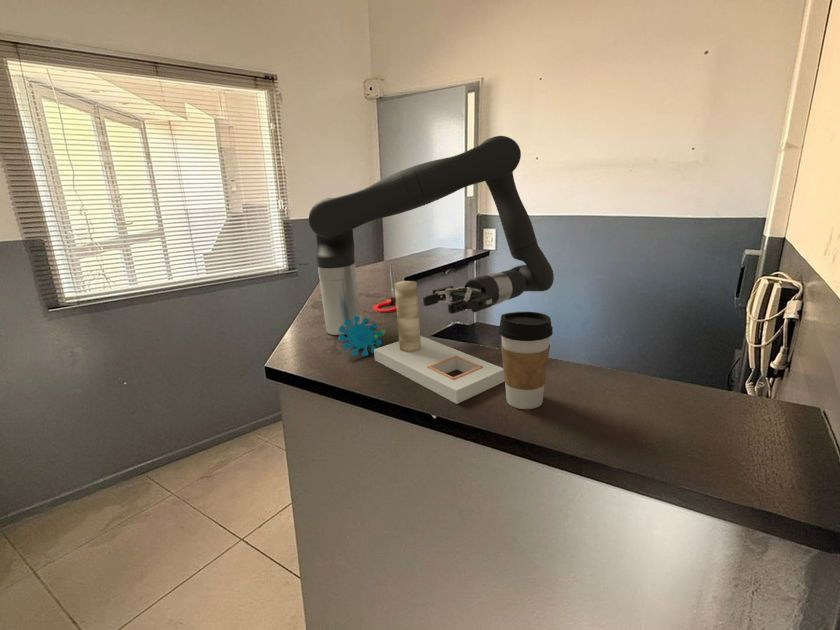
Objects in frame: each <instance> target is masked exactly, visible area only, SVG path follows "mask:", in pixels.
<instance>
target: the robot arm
mask: <svg viewBox="0 0 840 630" xmlns="http://www.w3.org/2000/svg"><path fill="white" fill-rule="evenodd" d="M521 159H522V153H521V148H520V145H519V144H518V143H517V142H516V141H515V140H514V139H512V138H511V137H509V136H506V135H496V136H493V137H489V138H487V139H486V140H484V141H483V142H481V143H480V144H479V145H477V146H475V147H473V148H471V149H469V150H466V151H464V152H461V153H459V154H456V155H454V156H449V157H444V158H440V159H435V160H430V161H426V162H424V163H420V164H416V165H414V166H411V167H407V168H405V169H403V170H400V171H397V172H395V173H393V174H392V173H391V174H390V175H388V176H386V177H384V178H381V179H380V180H378V181H376V182H374V183H373V184H371V185H369V186H366V187H365V188H363V189H359V190H358V191H355V192H352V193H347V194H344V195H340V196H336V197H327V198H324V199H323V198H322V199H321V200H319V201H317V202H316V203H314V205H313V206H312V207H311V209H310V211H309V215H308V224H309V227H310V229H311V231H313V234H315V236H316V248H317V249H316V263H317V264H316V265H317V271H318V277H319V286H320V293H321V301H322V306H323V307H322V309H323V316H324V324H325V330H326V331H325V332H326V333H327V334H329V335H332V336H339V335H340V334H342V335H344V336H345V335H346V334H345V333H343V332H340V331H339V328H340V327H341V326H342V325H343V326H344V327H345V330H346V331H349V329H348V327H347V326H346V325H345V324H344V321H345V320H346V319H350V321H351V322H350V325H351V326H354V321H353V318H354V316H357V317H359V321H358V322H357V324H361V323H362V315H361V305H360V296H359V287H358V277H357V271H356V270H357V269H356V259H355V258H356V257H355V240H354V229H356V228H358V227H360V226H362V225H365V224H367V223H370V222H372V221H376V220H379V219H383V218H384V219H385V218H387V217H393V216H395V215H399V214H402V213H407V212H409V211H412V210H416V209H418V208H420V207H424V206H426V205H429V204H431V203H434V202H436V201H439V200H440V199H443V198H445V197H447V196H450V195H451V194H454V193H456V192H457V191H459V190H462V189H464V188H467V187H470V186H473V185H477V184H480V183H486V185H487V187H488V190H489V192H490V194H491V197H492V199H493V202H494V204H495V207H496V211H497V213H498V217H499V219H500V220H499V221H500V223H501V226H502V229H503V233H504V236H505V239H506V242H507V246H508V249H509V252H510V255H511V257H512V258H513V259H514V260H516V261H517V260H518V261H522V262H523V263H524V264H522V265H521V264H520V265H518V266H515V267H512V268H510V269H509V270H505V271H500V272H493V273H489V274H488V273H487V274H484V275H480V276H477V277H476V276H475V277H472V278H469V279H468V280H467V281H466V283H465V285H464V286H458V287H455V288H454V286H453V285H449V286H444V287H440V288H434V289H432V293H431V294H427V295H424V296H423V297H422V298H423V299H422V301H423V306H425V307H428V306H432V305H433V306H434V305H436V304H441V303H443V304H444V303H445V304H446V305H447V307H448V308H447V309H448V311H447V312H448V313H449V314H452V315H453V314H456V313H459V312H463V311H464V312H468V311H471V313H478V312H480V311H483V310H486V309H488V308H491V307H492V306H495V305H498V304H502V303H504V302H506V301H508V300H511V299H512V300H513V299H515V298H517V297H519V296H521V295H522V294H523V293H524V292H545V291H548V290H550V289H551V288H552V286H553V284H554V280H555V279H554V278H555V274H554V271H553V268H552V266H551V263H550V262H549V260H548V259H547V258H546V256H545V254H544V252H543V251H542V249H541V247H539V244H538V240H537V237H536V233H535V230H534V226H533V223H532V221H531V218H530V216H529V214H528V212H527V209H526V208H525V206H524V203H523V201H522V199H521V197H520V195H519V194H520V193H519V192H518V189H517V186H516V183H515V178H514V173H513V172H514V171H515V170H516V168H517V167H519V166H518V165H520V164H519V163H520V161H521ZM450 299H451V300H450ZM346 336H347V335H346Z"/></svg>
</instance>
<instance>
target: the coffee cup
mask: <svg viewBox="0 0 840 630" xmlns="http://www.w3.org/2000/svg"><path fill="white" fill-rule="evenodd" d="M553 332H554V331H553V326H552V319H551V317H550V316H549V315H547V314H545V313H541V312H536V311H513V312H506V313H503V314H501V316H500V323H499V327H498V334H499V336H501V343H500V349H501V357H502V368H503V369H504V379H505V382H504V384H505V385H504V386H505V396H506V398H505V399H506V402H507V404H509V405H510V406H511V407H513V408H516V409H520V410H532V409H536V408H539V407H541V405H542V404H543V400H544V393H545V392H544V391H545V384H546V379H547V372H548V362H549V355H550V348H551V345H550V337H552V336H553Z"/></svg>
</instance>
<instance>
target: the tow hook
mask: <svg viewBox="0 0 840 630" xmlns="http://www.w3.org/2000/svg"><path fill="white" fill-rule="evenodd" d="M393 268H394V267H393V263H389V269H390V270H389V275H390V284H391V285H390V286H391V289H390V290H391V296H390V299H389V298H388V299H385V301H383V302H379V303H376V304H374V305H373V306H372V311H373V310H374V311H373V312H375V311H377V312H376V313H378V312H385V313H384V314H388V313H387V312H389V313H392V312H397V308H396V296H395V283H396V281H395V280H396V279H395V273H394V272H395V271H394V269H393ZM390 305H392V306H394V307H391V308H381V307H385V306H390Z"/></svg>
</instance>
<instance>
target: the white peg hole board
mask: <svg viewBox="0 0 840 630" xmlns="http://www.w3.org/2000/svg"><path fill="white" fill-rule="evenodd" d="M420 340H421V348H420V349H419V350H417V351H414V352H404V351H401V350H400V345H399V340H397V341H395V342H393V343H389V344H387V345H383V346H381V347H380V346H379V347H376V349H374V353H373V355H374V361H375V362H377V363H380V364H381V365H383V366H385V367H386V368H388V369H391V370H392V371H394V372H397V373H398V374H400V375H402V376H403V377H405V378H407V379H409V380H411V381H412V382H415V383H417V384H419V385H420V386H422V387H424V388H426V389H428V390H430V391H432V392H434V393H435V394H438V396H441V397H443V398H445V399H446V400H448V401H450V402H452V403H454V404H456V405H457V404H460V403H461V402H464V401H466V400H468V399H470V398H473V397H475V396H477V395H479V394H481V393H483V392H485V391H487V390H490V389H492V388H494V387H496V386H498V385H500V384H502V383H505V379H504V369H503V367H500V366H499V365H496V364H493V363H490V362H488V361H485V360H483V359H481V358H478V357H476V356H473V355H470V354H468V353H466V352H462V351H461V350H457V349H455V348H453V347H451V346H448V345H445V344H443V343H440V342H437V341H435V340H432V339H430V338H428V337H424V336H422V335H420ZM453 371H459V372H461V373H460V374H458V375H455V376H451V375H449V373H451V372H453Z"/></svg>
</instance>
